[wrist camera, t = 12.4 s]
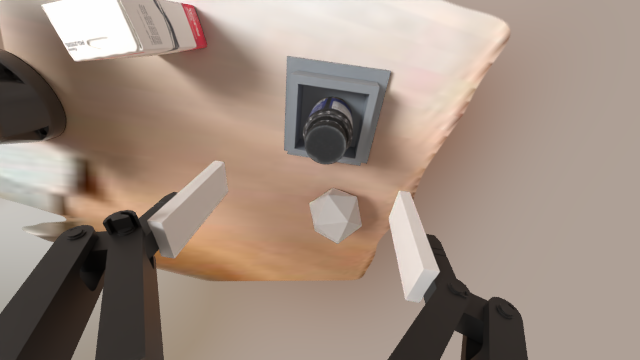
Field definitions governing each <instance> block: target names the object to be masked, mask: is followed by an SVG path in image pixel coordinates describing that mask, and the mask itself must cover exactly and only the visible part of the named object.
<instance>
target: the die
mask: <svg viewBox="0 0 640 360" xmlns="http://www.w3.org/2000/svg"><path fill="white" fill-rule="evenodd" d="M309 205H310V210H311V214H312V219H313V224H314V229H315V231H316V232H318V233H319V234H321V235H323V236H325V237H326V238H328V239H330V240H332V241H333V242H335V243H337V244H338V243H340V242H341V241H342V240H344V239H345V238H346V237H348V236H349V235H351V234H352V233H353V232H355V231H356V230H357V229H359V228H360V227H361V226H362V223H361V217H360V211H359V206H358V200H357V197H356V196H353V195H351V194H348V193H346V192H343V191H340V190H338V189H335V188H332V189H330V190H329V191H327V192H326V193H324V194H323V195H321V196H320V197H318V198H317V199H315V200H313V201H312V202H310V203H309Z"/></svg>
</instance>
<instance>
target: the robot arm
mask: <svg viewBox="0 0 640 360" xmlns="http://www.w3.org/2000/svg"><path fill="white" fill-rule="evenodd" d="M65 125H66V119H65V114H64V111H63V108H62V106H61V103H60V102H59V100H58V98H57V96H56V95H55V93H54V92H53V90H52V89H51V88H50V86H49V85H48V84H47V83H46V82H45V81H44V79H43V78H42V77H41V76H40V75H39V74H38V73H37V72H35V71H34V70H33V69H32V68H31V67H30V66H28V65H27V64H26V63H25V62H23V61H22V60H20V59H19V58H17V57H15V56H14V55H12V54H10V53H8V52H6V51H4V50H1V49H0V144H13V143H29V142H40V141H45V140H48V139H51V138H54V137H57V136H59V135H61V134H62V133H63V131H64V129H65ZM227 193H228V186H227V178H226V170H225V163H224V162H221V161H215V160H214V161H213V162H212V163H211V164H210V165H209V166H208V167H207V168H206V169H204V170H203V171H202V172H201V173H200V174H199V175H198V176H197V177H195V178H194V179H193V180H192V181H191V182H190V183H189V184H188V185H186V186H185V187H184V188H183V189H182V190H181V191H180V192H179V193H177V192H173V193H171V194H169V195H166V196H165V197H164V198H162V199H161V200H160V201H159V203H156V204H155V205H154V207H152V208H151V209H149V210H148V211H147V212H146V213H145V214H143V215H142V216H141V217H140V218H139V219H138V217H137V215H136V213H135V212H134V211H130V210H125V211H119V212H116V213H113V214H112V215H110V216H108V217H107V218H106V219H105V220H104V221H103V225H104V226H105V228H106V230H107V231H104V232H96V231H95V230H94V228H93V227H92V226H89V225H81V226H77V227H74V228H71V229H69V230H67V231H65V232H63V233H62V234H61V235H60V236H59V237H58V238H57V240H56V241H55V242H54V243H53V245H52V246H51V247H50V249H49V250H48V251H47V253H46V254H45V255H44V257H43V258H42V260H41V261H40V262H39V263H38V265H37V266H36V267H35V269H34V270H33V271H32V273H31V274H30V275H29V277H28V278H27V279H26V281H25V282H24V283H23V285H22V286H21V287H20V289H19V290H18V291H17V293H16V294H15V295H14V296H13V298H12V299H11V300H10V302H9V303H8V304H7V306H6V307H5V308H4V310H3V311H2V312H1V314H0V360H71V358H72V356H73V354H74V351H75V349H76V347H77V345H78V342H79V340H80V338H81V336H82V333H83V331H84V329H85V327H86V325H87V322H88V320H89V318H90V315H91V313H92V311H93V309H94V307H95V304H96V302H97V300H98V298H99V295H100V293H101V291H102V289H103V295H102V304H101V313H100V322H99V331H98V339H97V348H96V357H95V360H164V356H163V344H162V332H161V320H160V309H159V296H158V283H157V273H156V259H155V256H154V254H155V253H156V252H157V251H158V250H159V251H160V253H161V256H164V257H169V258H175V257H176V256H177V255H178V254H179V252H180V251H181V250H182V249H183V247H184V246H185V245H186V244H187V242H188V241H189V240H190V239H191V237H192V236H193V235H194V234H195V232H196V231H197V230H198V229H199V227H200V226H201V225H202V224H203V222H204V221H205V220H206V219H207V217H208V216H209V215H210V214H211V213H212V211H213V210H214V209H215V208H216V206H217V205H218V204H219V203H220V201H221V200H222V199H223V198H224V196H225V195H226V194H227ZM389 223H390V227H391V232H392V237H393V242H394V247H395V252H396V256H397V261H398V266H399V271H400V275H401V281H402V286H403V291H404V295H405V300H408V301H414V302H420V301H421V299H422V298H423V296H424V300H425V303H426V304H425V306H424V307H423V309H422V310H421V312H420V313H419V315H418V316H417V318H416V319H415V320H414V322H413V324H412V325H411V326H410V328H409V329H408V331H407V332H406V334H405V335H404V336H403V338H402V339H401V341H400V342H399V344H398V345H397V347H396V348H395V350H394V351H393V353H392V354H391V356H390V357H389V359H388V360H440V358H441V356H442V354H443V352H444V350H445V348H446V346H447V344H448V342H449V340H450V338H451V336H452V334H453V332H454V330H455V331H457V332H459V333H461V334H463V341H462V352H461V360H528V357H527V350H526V342H525V335H524V329H523V328H524V327H523V320H522V317H521V315H520V313H519V312H518V310H517V309H516V308H515V307H514V306H513V305H512V304H511V303H509V302H508V301H506V300H504V299H502V298H499V297H493V298H491V299H490V300H489V301H487V300H485V299H482V298H480V297H478V296H476V295H474V294H472V293H470V291H469V290H468V288H467V287H466V285H464V284H463V283H462V282H461V281H459V280H458V279H456V277H455V274H454V272H453V270H452V267H451V265H450V263H449V260H448V258H447V257H446V254H445V251H444V249H443V247H442V244H441V242H440V241H439V240H438V239H437V238H436V237H435V236H434V235H429V234H425V231H424V228H423V226H422V223H421V221H420V218H419V215H418V213H417V210H416V207H415V205H414V202H413V199H412V197H411V194H410V192H406V191H400V190H399V192H398V195H397V198H396V200H395V203H394V206H393V208H392V211H391V214H390V216H389Z"/></svg>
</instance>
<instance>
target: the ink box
mask: <svg viewBox="0 0 640 360" xmlns="http://www.w3.org/2000/svg"><path fill="white" fill-rule="evenodd" d="M42 8H43V10H44V11H45V13H46V15H47V16H48V18H49V20H50V22H51V23H52V25H53V27H54V28H55V30H56V32H57V33H58V35H59V37H60V38H61V40H62V42H63V44H64V45H65V47H66V49H67V50H68V52H69V54H70V55H71V57H72V58H73V59H74V61H76V62H79V61H90V60H103V59H116V58H130V57H142V56H152V55H163V54H170V53H176V52H182V51H188V50H194V49H200V48H205V47H207V43H206V40H205V37H204V34H203V30H202V27H201V24H200V22H199V19H198V16H197V13H196V11H195V8H194V6H193V5H188V4H183V3H178V2H172V1H167V0H61V1H56V2H52V3H48V4H43V5H42Z"/></svg>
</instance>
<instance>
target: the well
mask: <svg viewBox="0 0 640 360" xmlns="http://www.w3.org/2000/svg"><path fill="white" fill-rule="evenodd" d="M390 72H391V71H389V70H382V69H375V68H368V67H361V66H354V65H347V64H340V63H333V62H326V61H319V60H312V59H305V58H298V57H291V56H287V77H286V109H285V140H284V150H285V151H288V153H287V154H291V155H297V156H303V157H309V156H308V154H307V152H306V150H305V142H304V138H303V129H304V125H305V123H306V121H307V119H308V117H309V115H310V113H311V111H312V110H313V108H314V106H315V105H316V103H317V102H318V101H319V100H321V99H323V98H325V97H338V98H341V99H343V100H344V101H345V102H346V103H347V104H348V105H349V106H350V109H351V111H352V122H353V138H352V142H351V145H350V146H349V148H348V149H347V150H346V152H345V154H344V155H343V157H342V158H341V159H340V160H338V161H337V162H341V163H347V164H353V165H359V166H360V165H361V163H367V161H368V157H369V153H370V149H371V145H372V142H373V138H374V134H375V130H376V126H377V122H378V119H379V115H380V111H381V107H382V103H383V99H384V95H385V92H386V88H387V84H388V80H389V76H390Z"/></svg>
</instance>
